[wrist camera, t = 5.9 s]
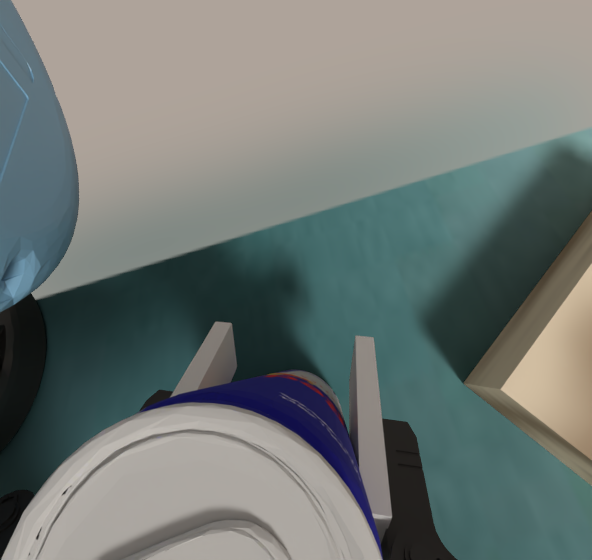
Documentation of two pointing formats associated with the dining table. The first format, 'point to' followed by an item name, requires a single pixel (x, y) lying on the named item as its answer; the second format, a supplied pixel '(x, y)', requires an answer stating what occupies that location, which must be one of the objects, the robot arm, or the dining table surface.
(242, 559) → the beverage can
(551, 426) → the dock
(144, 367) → the dining table surface
